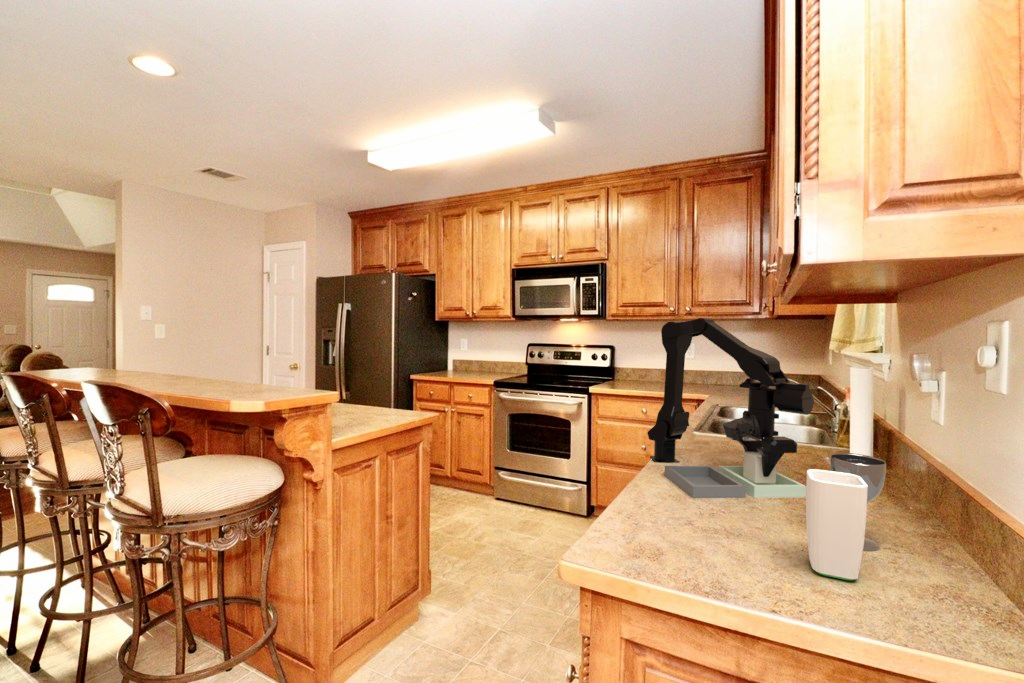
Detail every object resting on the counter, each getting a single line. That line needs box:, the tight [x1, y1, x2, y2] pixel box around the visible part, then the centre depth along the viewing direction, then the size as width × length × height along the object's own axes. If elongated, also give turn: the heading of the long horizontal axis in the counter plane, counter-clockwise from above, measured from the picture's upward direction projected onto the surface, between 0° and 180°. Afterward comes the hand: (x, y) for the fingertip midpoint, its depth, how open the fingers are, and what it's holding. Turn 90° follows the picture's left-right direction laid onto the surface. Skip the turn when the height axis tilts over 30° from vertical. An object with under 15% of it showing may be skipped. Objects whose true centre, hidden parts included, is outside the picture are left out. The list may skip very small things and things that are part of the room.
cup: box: [805, 468, 868, 581], centre depth 74 cm, size 7×7×15 cm
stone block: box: [742, 451, 777, 483], centre depth 114 cm, size 5×5×6 cm
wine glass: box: [830, 452, 887, 552], centre depth 85 cm, size 8×8×15 cm
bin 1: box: [664, 465, 747, 499], centre depth 113 cm, size 16×12×3 cm
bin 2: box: [717, 465, 806, 499], centre depth 114 cm, size 16×12×3 cm
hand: (759, 473), depth 114 cm, fingers closed on stone block, 5 cm apart
